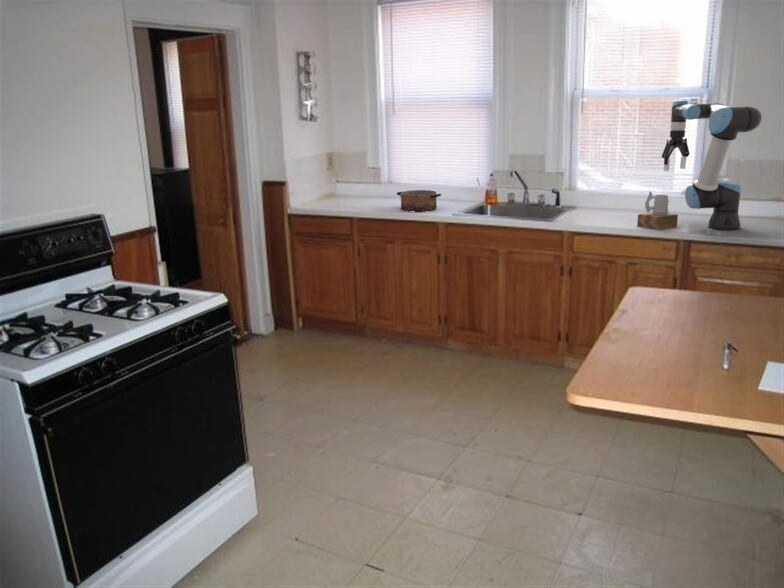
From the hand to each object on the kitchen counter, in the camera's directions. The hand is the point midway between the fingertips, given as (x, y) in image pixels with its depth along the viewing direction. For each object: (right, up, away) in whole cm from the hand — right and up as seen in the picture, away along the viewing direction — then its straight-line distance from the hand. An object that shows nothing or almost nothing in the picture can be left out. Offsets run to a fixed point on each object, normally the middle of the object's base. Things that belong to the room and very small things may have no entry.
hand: (674, 169), depth 386 cm
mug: (-15, -26, -15) cm, 34 cm away
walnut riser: (-14, -32, -13) cm, 37 cm away
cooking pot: (-137, -15, +61) cm, 151 cm away
